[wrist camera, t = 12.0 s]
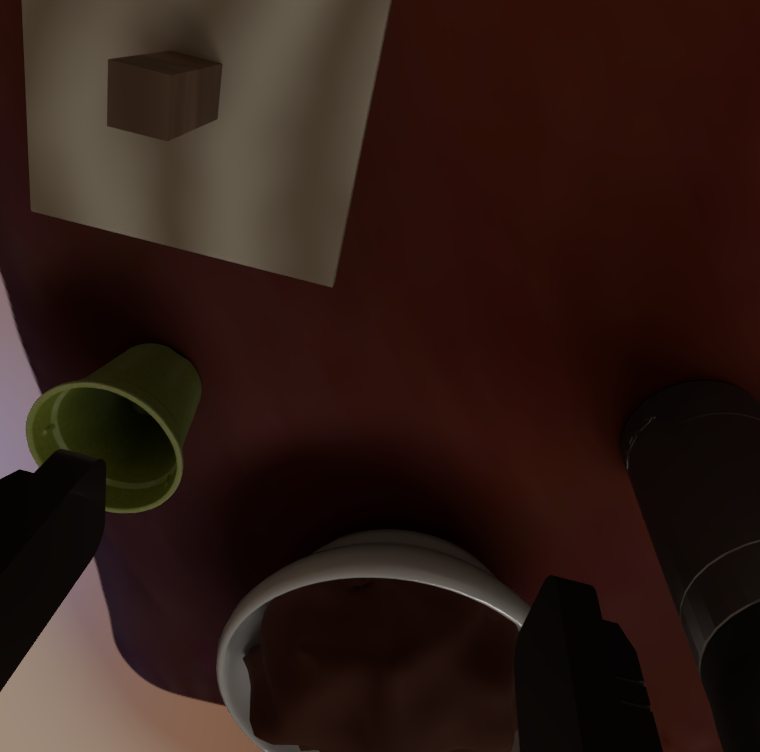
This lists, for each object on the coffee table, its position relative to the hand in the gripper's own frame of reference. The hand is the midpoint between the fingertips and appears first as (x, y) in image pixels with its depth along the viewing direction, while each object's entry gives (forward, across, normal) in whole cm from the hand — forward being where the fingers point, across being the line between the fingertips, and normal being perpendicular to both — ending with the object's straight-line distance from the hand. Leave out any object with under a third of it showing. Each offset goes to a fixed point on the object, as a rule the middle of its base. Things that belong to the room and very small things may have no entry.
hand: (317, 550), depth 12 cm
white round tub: (+30, -7, +33) cm, 45 cm away
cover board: (+24, +11, -3) cm, 26 cm away
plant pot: (+30, +14, +18) cm, 38 cm away
